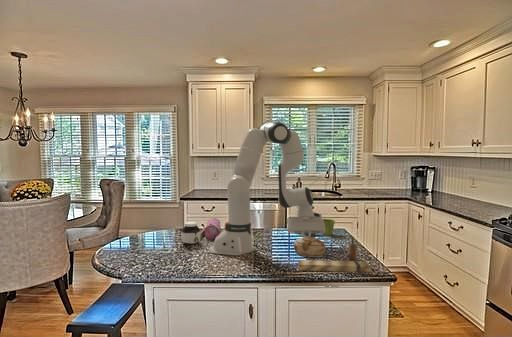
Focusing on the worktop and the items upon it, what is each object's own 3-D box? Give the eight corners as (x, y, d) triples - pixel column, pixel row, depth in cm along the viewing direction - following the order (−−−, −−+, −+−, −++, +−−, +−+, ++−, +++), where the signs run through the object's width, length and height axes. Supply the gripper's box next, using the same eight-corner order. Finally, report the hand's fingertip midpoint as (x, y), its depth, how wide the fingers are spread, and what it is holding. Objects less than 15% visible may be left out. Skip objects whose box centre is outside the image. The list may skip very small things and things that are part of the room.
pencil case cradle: (198, 239, 186) (197, 234, 186) (207, 230, 209) (207, 225, 209) (220, 240, 185) (220, 234, 185) (227, 230, 208) (227, 226, 208)
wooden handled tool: (349, 263, 145) (349, 237, 145) (348, 261, 148) (348, 236, 147) (356, 263, 145) (356, 237, 144) (354, 261, 148) (355, 236, 147)
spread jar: (185, 246, 172) (185, 225, 171) (176, 242, 180) (176, 221, 180) (205, 242, 179) (205, 222, 179) (195, 238, 188) (195, 219, 187)
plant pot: (336, 236, 193) (336, 222, 192) (321, 236, 193) (321, 222, 193) (333, 232, 202) (333, 219, 202) (318, 232, 202) (318, 219, 202)
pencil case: (219, 239, 186) (218, 224, 186) (203, 240, 186) (203, 224, 185) (221, 231, 207) (221, 217, 207) (207, 231, 207) (206, 217, 207)
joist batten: (298, 270, 136) (298, 264, 136) (298, 265, 142) (298, 259, 142) (370, 272, 134) (370, 266, 134) (367, 267, 140) (367, 261, 140)
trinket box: (292, 250, 166) (292, 235, 166) (320, 249, 167) (320, 234, 167) (297, 258, 153) (297, 242, 152) (328, 257, 154) (328, 241, 153)
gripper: (286, 213, 175) (286, 236, 166) (324, 214, 174) (326, 236, 164) (286, 220, 180) (286, 242, 171) (323, 220, 178) (325, 243, 169)
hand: (306, 239), depth 168 cm, fingers closed
